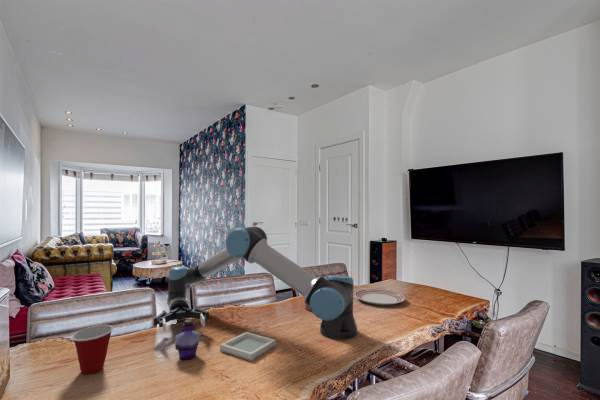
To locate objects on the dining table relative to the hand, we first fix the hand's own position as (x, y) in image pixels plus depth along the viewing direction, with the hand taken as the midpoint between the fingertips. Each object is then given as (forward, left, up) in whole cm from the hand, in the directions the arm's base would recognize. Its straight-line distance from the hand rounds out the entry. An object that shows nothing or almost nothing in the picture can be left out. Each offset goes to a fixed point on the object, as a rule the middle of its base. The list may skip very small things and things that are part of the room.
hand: (184, 325), depth 117 cm
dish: (-21, -11, -7) cm, 25 cm away
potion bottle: (-8, +5, -7) cm, 12 cm away
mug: (-17, -65, -7) cm, 67 cm away
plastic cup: (+9, +27, -7) cm, 30 cm away
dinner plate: (-42, -99, -8) cm, 108 cm away
